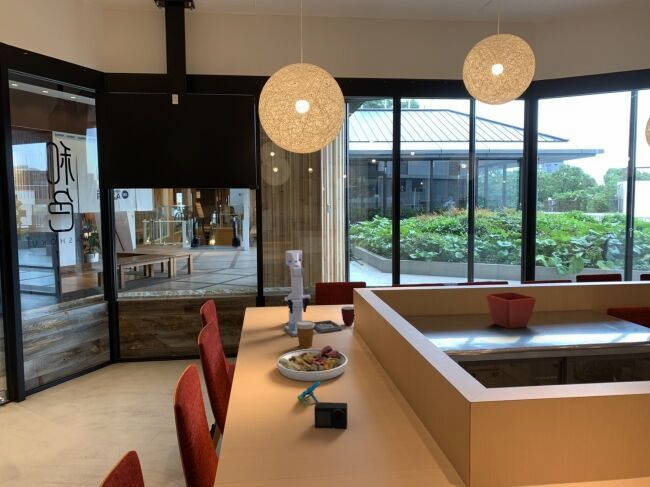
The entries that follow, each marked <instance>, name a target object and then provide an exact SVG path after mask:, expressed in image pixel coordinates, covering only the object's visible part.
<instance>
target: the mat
mask: <svg viewBox="0 0 650 487" xmlns="http://www.w3.org/2000/svg"><path fill="white" fill-rule="evenodd" d="M284 330H285V331H286V332H288V333H289V335H291V336H292V335H293V337H294V338H295V336H297V337H298V335H294V334H292V333H291V332H290V331H289V330H287V329H286V328H285V327H284ZM317 334H318V333H317V331H316V332H313V335H317Z"/></svg>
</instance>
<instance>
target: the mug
mask: <svg viewBox="0 0 650 487" xmlns="http://www.w3.org/2000/svg"><path fill="white" fill-rule="evenodd" d="M354 307H355V306H342V307H341V308H340V309H341V310H340V311H341V317H342V322H343V323H344V326H349V327H350V326H352V325H354V323H355V322H354V320H355V318H354V316H355V315H354Z"/></svg>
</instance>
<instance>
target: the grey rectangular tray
mask: <svg viewBox="0 0 650 487" xmlns="http://www.w3.org/2000/svg"><path fill="white" fill-rule="evenodd" d="M313 322H314V324H315V326H314V330H315V331H316V330H317V331H318V332H320V333H321V334H325V333H332V332H333V333H335V332H340V331H342V330H343V328H342V327H343V326H341V325H340V324H338V323H336V322H335V321H333V320H331V319H329V320H322V321H321V320H319V321H313Z"/></svg>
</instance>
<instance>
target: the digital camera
mask: <svg viewBox="0 0 650 487" xmlns="http://www.w3.org/2000/svg"><path fill="white" fill-rule="evenodd" d="M313 410H314V412H313V413H314V428H315V429H328V430H330V429H333V430H347V429H348V422H349V420H348V403H347V402H331V401H330V402H327V401H326V402H325V401H323V402H321V401H318V402H315V404H314V408H313Z"/></svg>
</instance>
